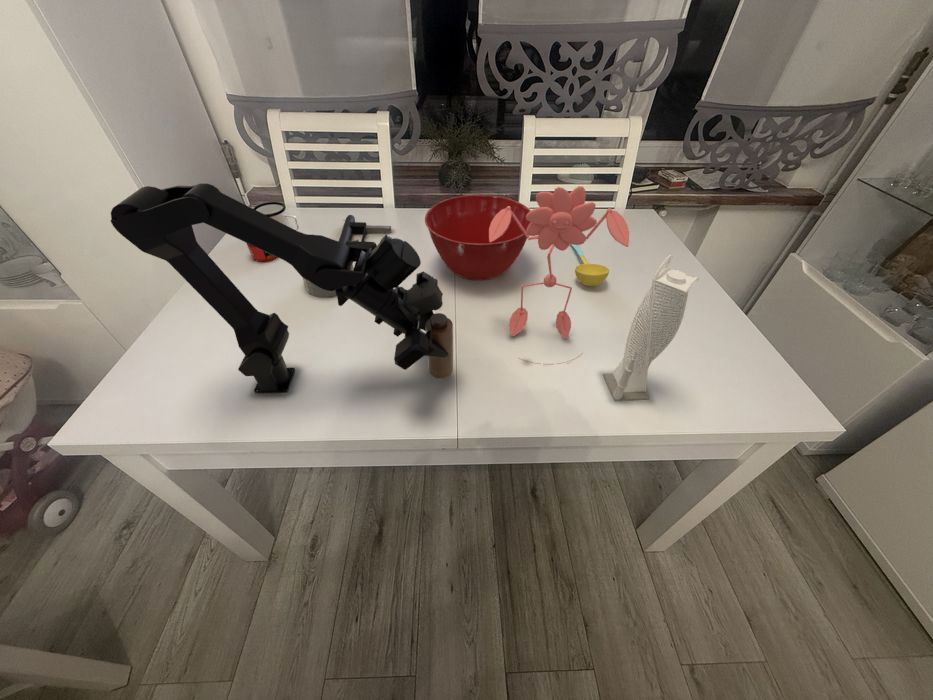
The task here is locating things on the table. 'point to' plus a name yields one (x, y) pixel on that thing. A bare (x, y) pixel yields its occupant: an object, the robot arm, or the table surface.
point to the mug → (275, 212)
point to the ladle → (590, 271)
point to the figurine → (557, 237)
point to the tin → (319, 289)
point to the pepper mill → (444, 337)
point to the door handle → (360, 232)
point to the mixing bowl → (476, 235)
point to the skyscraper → (650, 332)
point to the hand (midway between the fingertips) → (447, 346)
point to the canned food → (260, 254)
